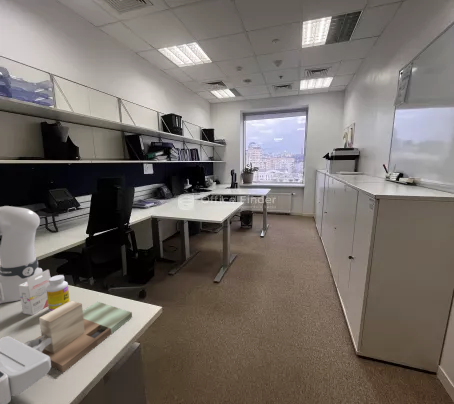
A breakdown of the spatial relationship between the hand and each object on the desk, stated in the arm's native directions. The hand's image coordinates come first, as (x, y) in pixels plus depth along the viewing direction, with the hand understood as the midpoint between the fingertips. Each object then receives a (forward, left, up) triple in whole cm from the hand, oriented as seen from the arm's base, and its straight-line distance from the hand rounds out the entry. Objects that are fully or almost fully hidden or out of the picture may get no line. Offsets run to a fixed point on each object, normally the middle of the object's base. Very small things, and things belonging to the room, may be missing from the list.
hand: (48, 338), depth 61 cm
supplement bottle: (-23, +16, -7) cm, 29 cm away
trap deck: (-1, +11, -6) cm, 13 cm away
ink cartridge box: (-31, +13, -7) cm, 34 cm away
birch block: (-1, +5, -4) cm, 6 cm away
